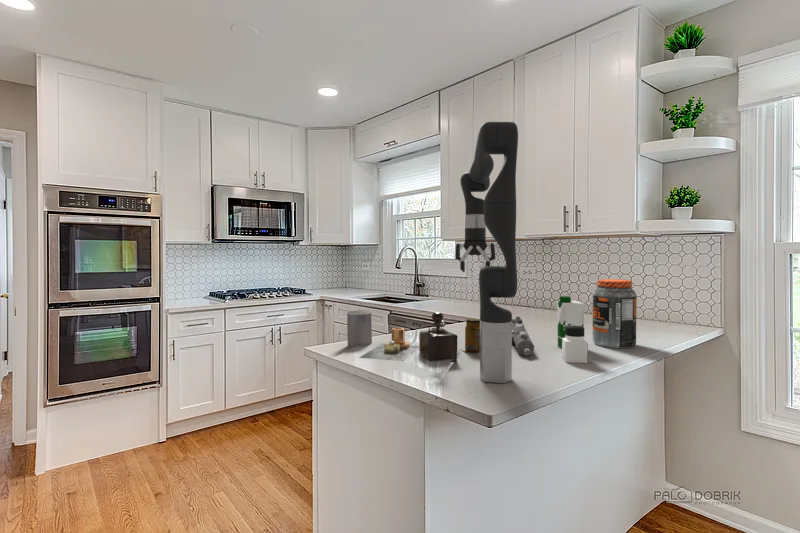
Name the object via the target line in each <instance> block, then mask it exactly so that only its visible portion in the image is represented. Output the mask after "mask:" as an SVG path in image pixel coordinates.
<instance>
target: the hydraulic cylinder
mask: <svg viewBox="0 0 800 533" xmlns="http://www.w3.org/2000/svg"><path fill="white" fill-rule="evenodd" d="M512 346H515V347H516V349H517V351H518V353H519V354H520V355H522V356H530V355H532V354H533V353H534V350H535V345H534V344H533V342H532V340H531V337H530V335H529V333H528V332H527V329H526V328H525V325H524V323H523V319H522V318H521V316H515V318H512Z"/></svg>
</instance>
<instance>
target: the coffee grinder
mask: <svg viewBox="0 0 800 533" xmlns="http://www.w3.org/2000/svg"><path fill="white" fill-rule="evenodd" d="M431 319H432V320H433V323H432V326H433V327H432V328H430V327H428V330H426V331H419V335H418V336H419V337H418V340H419V343H418V344H419V345H418V346H419V348H418V349H419V351H418V352H419V356H421V357H422V359H426V360H427V361H429V362H437V361H446V360H447V361H448V360H451V362H450V363H451V364H452V363H457V362H458V335H457V334H456V333H453V332H450V331H448V330H446V329H445V328H444V327H445V326H446V322H445V321H444V313H442V312H440V311H434V313H432V315H431Z"/></svg>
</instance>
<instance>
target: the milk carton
mask: <svg viewBox="0 0 800 533" xmlns="http://www.w3.org/2000/svg"><path fill="white" fill-rule="evenodd" d="M571 298H572V297H571V296H567V295H562V296H559V300H557V301H556V306H557V347H558V348H560V349H561V350H562V338H566V337H565V327H566V326H568V325H579V326H582V327H584V326H585V324H584V320H585V318H584V315H585V303H584V302H582V301H577V300H573V301H572V300H571ZM584 328H585V327H584Z"/></svg>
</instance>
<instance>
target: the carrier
mask: <svg viewBox="0 0 800 533" xmlns="http://www.w3.org/2000/svg"><path fill="white" fill-rule="evenodd" d="M388 342H389V343H388ZM388 342H387V343H383V342H382V343H381V344H379V345H377V346H376V347H374V348H373V349H371V350H369V351H367V352H366V353H364V354H363V355H361V356H360V357H359V359H370V360H373V359H375V360H382V361H383V360H385V361H398V362H399V361H400V362H404V361H405V360H406V359H408V358H409V357H410V356H411V355H412V354H413V353H415V352H416V351H417V350H418V349H419V345H417V344H416V345H415V344H410V347H408V348H407V349H400V344H398V343H395V342H394V341H392V340H391V341H388Z"/></svg>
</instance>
